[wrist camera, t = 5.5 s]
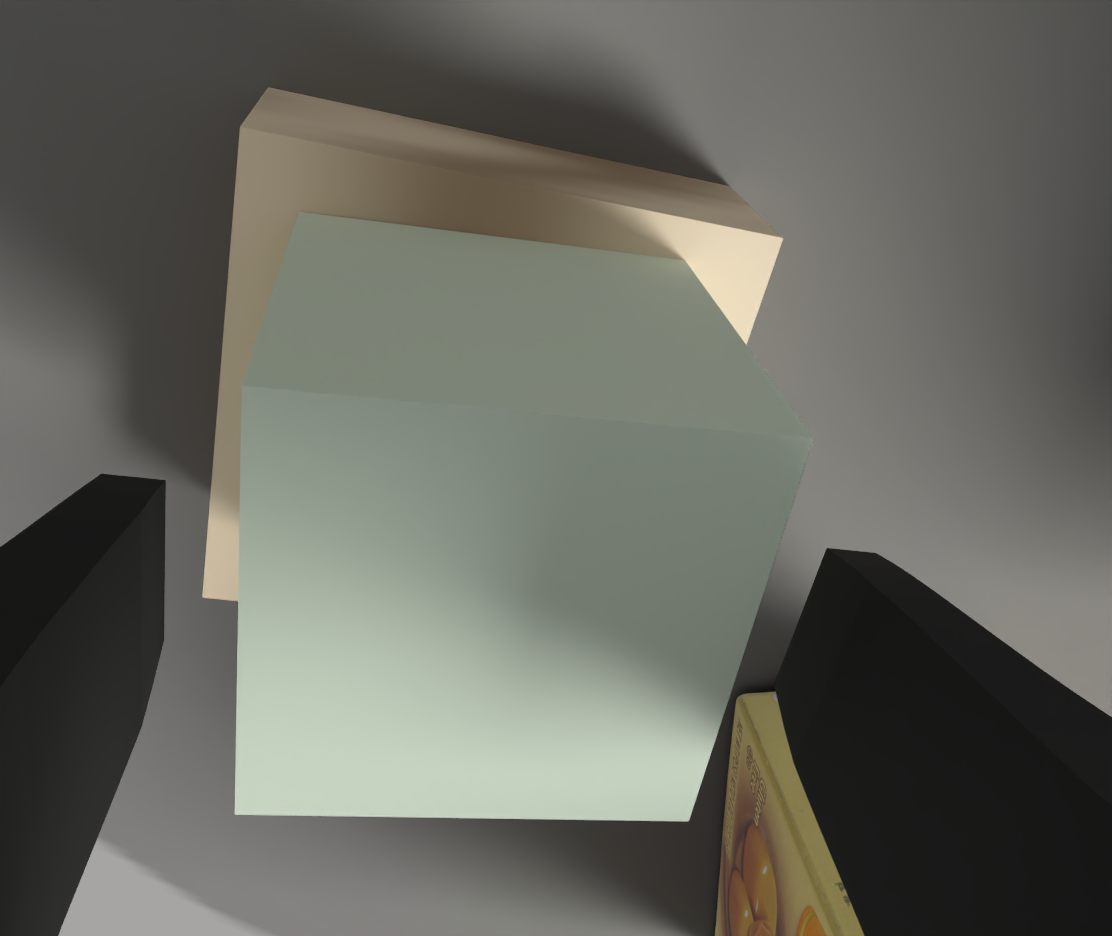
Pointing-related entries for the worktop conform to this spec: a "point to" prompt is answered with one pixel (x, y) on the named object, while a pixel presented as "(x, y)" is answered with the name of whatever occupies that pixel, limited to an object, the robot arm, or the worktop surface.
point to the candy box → (774, 839)
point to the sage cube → (496, 528)
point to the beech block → (449, 204)
